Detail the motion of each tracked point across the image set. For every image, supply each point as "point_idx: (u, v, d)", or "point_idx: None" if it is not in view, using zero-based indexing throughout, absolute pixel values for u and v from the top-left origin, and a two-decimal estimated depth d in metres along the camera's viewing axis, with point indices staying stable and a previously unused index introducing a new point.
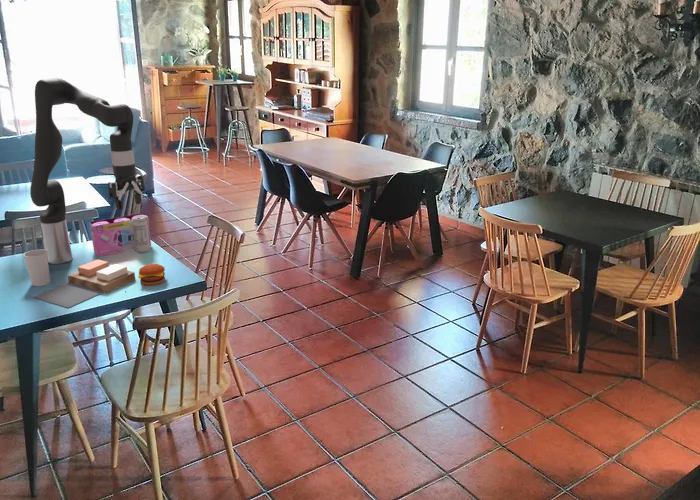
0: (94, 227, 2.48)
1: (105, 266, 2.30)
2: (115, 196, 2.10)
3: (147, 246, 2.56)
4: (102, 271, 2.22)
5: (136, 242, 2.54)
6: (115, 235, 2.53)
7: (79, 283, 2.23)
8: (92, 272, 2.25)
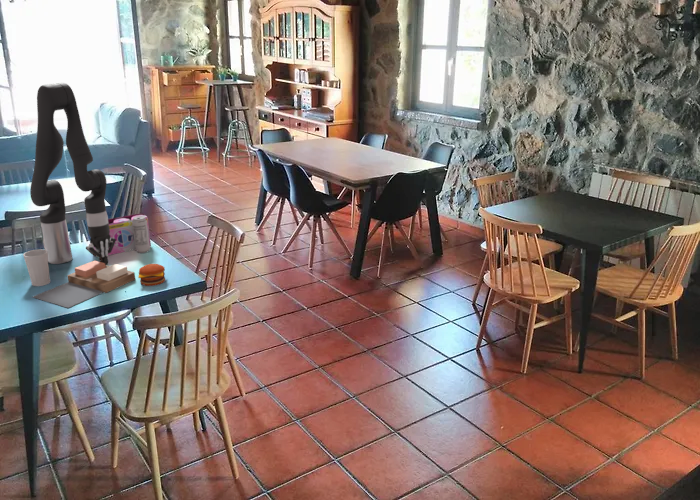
0: None
1: (102, 267, 2.29)
2: (99, 254, 2.29)
3: (147, 246, 2.56)
4: (102, 271, 2.22)
5: (136, 242, 2.54)
6: (115, 235, 2.53)
7: (79, 283, 2.23)
8: (88, 273, 2.24)
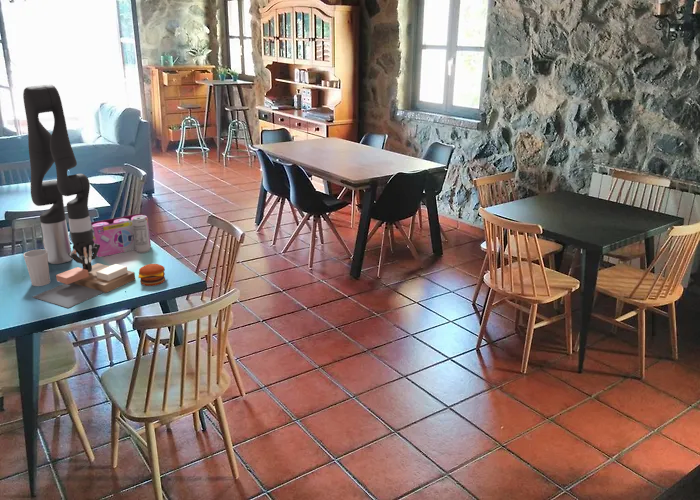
0: (95, 228, 2.47)
1: (84, 274, 2.23)
2: (82, 260, 2.22)
3: (147, 246, 2.56)
4: (102, 271, 2.22)
5: (136, 242, 2.54)
6: (115, 235, 2.53)
7: (79, 283, 2.23)
8: (70, 281, 2.18)
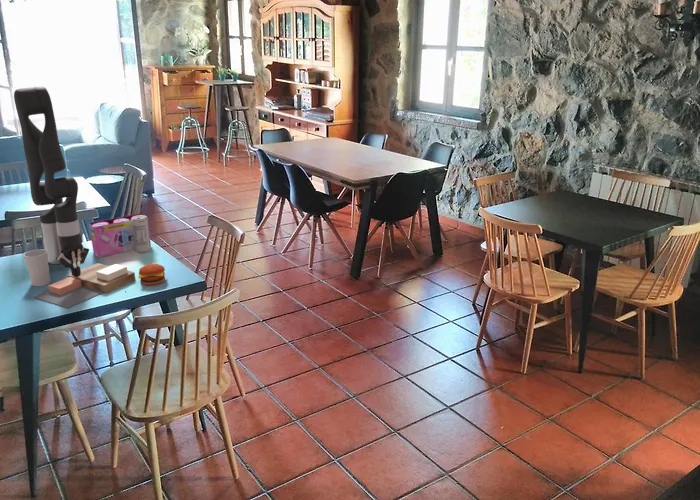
0: (95, 228, 2.47)
1: (77, 284, 2.21)
2: (70, 265, 2.18)
3: (147, 246, 2.56)
4: (102, 271, 2.22)
5: (136, 242, 2.54)
6: (115, 235, 2.53)
7: None
8: (63, 291, 2.16)
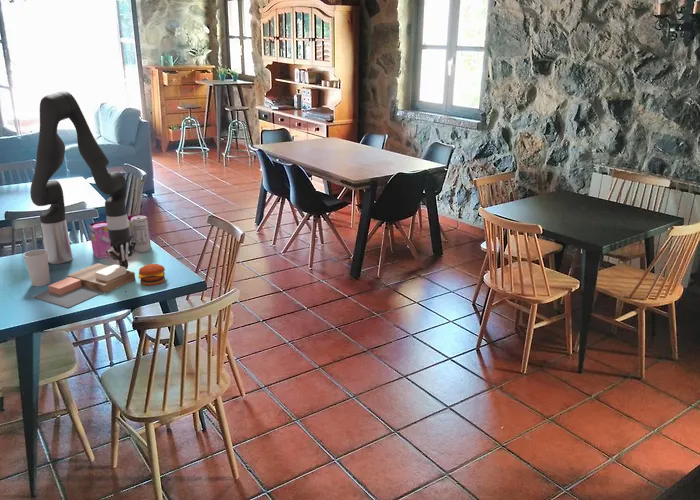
0: (95, 229, 2.46)
1: (77, 284, 2.21)
2: (119, 258, 2.25)
3: (147, 246, 2.56)
4: (101, 272, 2.22)
5: (136, 242, 2.54)
6: None
7: None
8: (63, 291, 2.16)
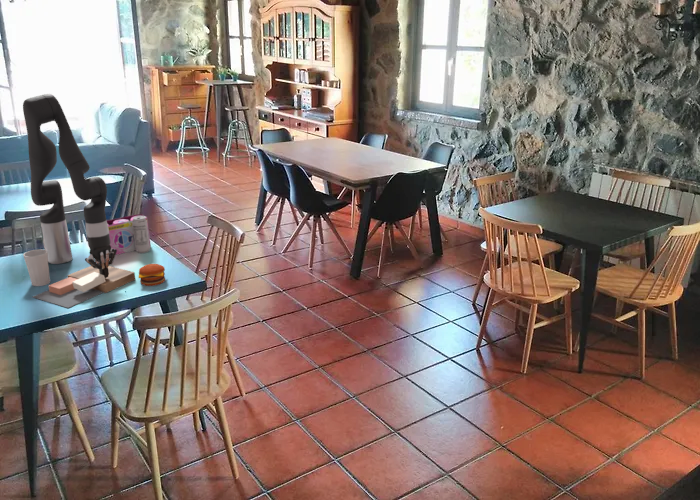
0: None
1: None
2: (99, 266, 2.17)
3: (147, 246, 2.56)
4: (78, 281, 2.15)
5: (136, 242, 2.54)
6: (116, 236, 2.52)
7: None
8: (63, 291, 2.16)
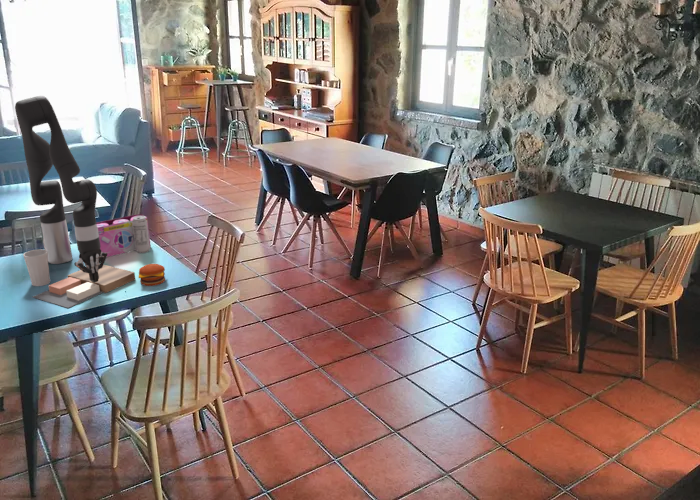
0: None
1: (77, 284, 2.21)
2: (89, 270, 2.14)
3: (147, 246, 2.56)
4: (72, 290, 2.13)
5: (136, 242, 2.54)
6: (116, 236, 2.52)
7: None
8: (63, 291, 2.16)
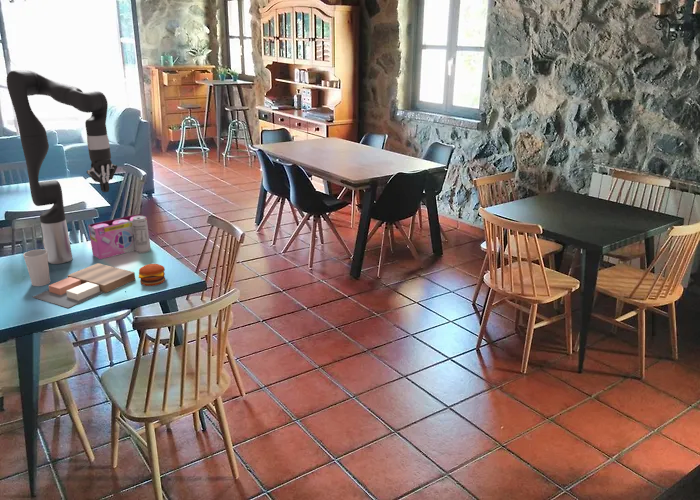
0: (96, 229, 2.45)
1: (77, 284, 2.21)
2: (100, 179, 2.26)
3: (147, 246, 2.56)
4: (72, 290, 2.13)
5: (136, 242, 2.54)
6: (116, 236, 2.51)
7: None
8: (63, 291, 2.16)
